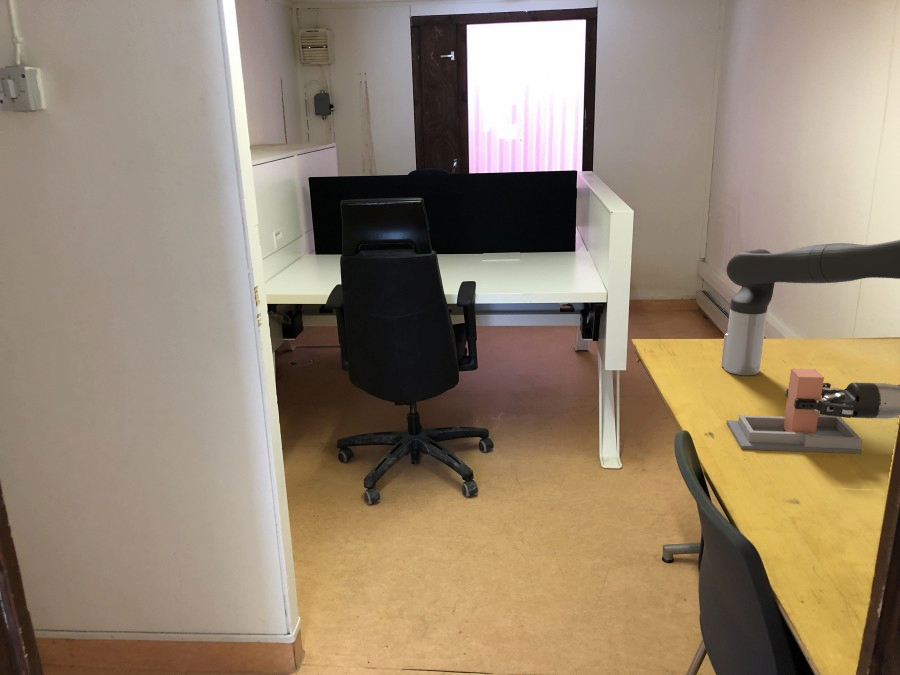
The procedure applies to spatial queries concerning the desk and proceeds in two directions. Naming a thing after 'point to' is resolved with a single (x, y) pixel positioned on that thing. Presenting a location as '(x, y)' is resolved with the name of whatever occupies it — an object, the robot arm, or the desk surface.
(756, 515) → the desk surface
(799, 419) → the block
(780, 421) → the keyhole board
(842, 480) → the desk surface
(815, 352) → the desk surface
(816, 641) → the desk surface
